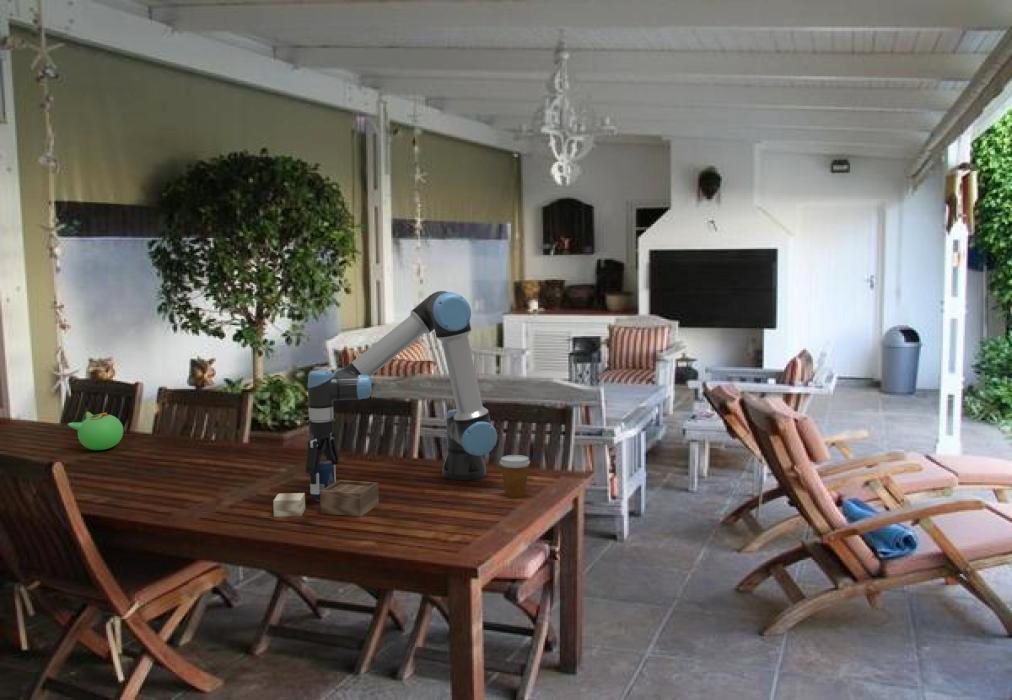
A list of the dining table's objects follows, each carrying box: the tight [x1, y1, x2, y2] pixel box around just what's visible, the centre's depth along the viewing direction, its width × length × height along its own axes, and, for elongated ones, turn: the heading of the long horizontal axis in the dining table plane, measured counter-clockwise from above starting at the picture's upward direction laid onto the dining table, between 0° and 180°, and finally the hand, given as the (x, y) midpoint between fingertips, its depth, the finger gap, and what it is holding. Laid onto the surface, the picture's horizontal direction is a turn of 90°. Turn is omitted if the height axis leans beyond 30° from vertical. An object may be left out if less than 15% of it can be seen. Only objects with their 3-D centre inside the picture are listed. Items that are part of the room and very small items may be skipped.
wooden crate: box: [319, 479, 380, 518], centre depth 290 cm, size 13×13×7 cm
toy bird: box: [67, 411, 124, 451], centre depth 373 cm, size 18×17×15 cm
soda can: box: [311, 459, 334, 502], centre depth 301 cm, size 7×7×12 cm
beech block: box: [272, 492, 306, 518], centre depth 287 cm, size 8×8×5 cm
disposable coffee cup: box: [499, 454, 531, 498], centre depth 303 cm, size 10×10×12 cm
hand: (323, 489), depth 301 cm, fingers open, 10 cm apart
